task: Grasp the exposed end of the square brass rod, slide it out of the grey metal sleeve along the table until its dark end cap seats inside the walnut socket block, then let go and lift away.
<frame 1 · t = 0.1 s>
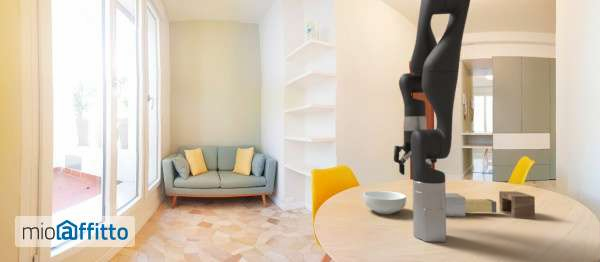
hand: (414, 174, 100), 17 cm above the table, fingers open, 8 cm apart
cereal bowl: (384, 212, 114), on the table
sleeve: (442, 213, 110), on the table
rod: (460, 205, 110), point 3 cm above the table, slide at 0.0 cm
socket: (516, 214, 108), on the table
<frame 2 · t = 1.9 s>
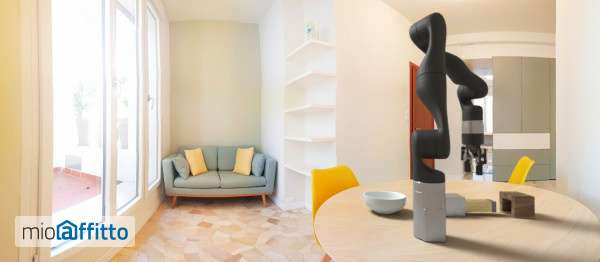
hand: (473, 173, 109), 16 cm above the table, fingers open, 8 cm apart
nothing on the table moved.
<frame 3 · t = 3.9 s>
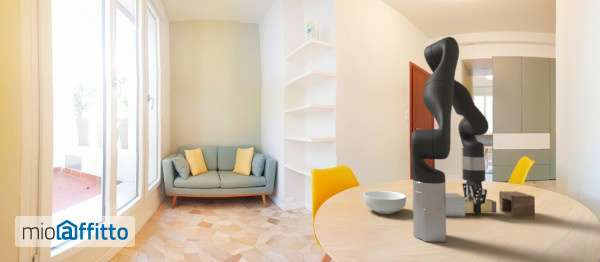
hand: (474, 211, 109), 1 cm above the table, fingers closed on rod, 4 cm apart
rod: (460, 205, 110), point 3 cm above the table, slide at 0.0 cm, touching gripper
everything else where it was.
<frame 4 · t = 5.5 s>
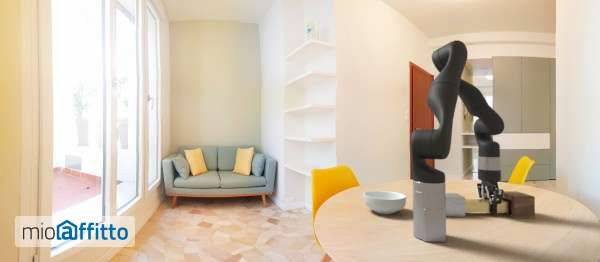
hand: (489, 212, 109), 1 cm above the table, fingers closed on rod, 4 cm apart
rod: (476, 205, 109), point 3 cm above the table, slide at 5.8 cm, touching gripper
everything else where it was.
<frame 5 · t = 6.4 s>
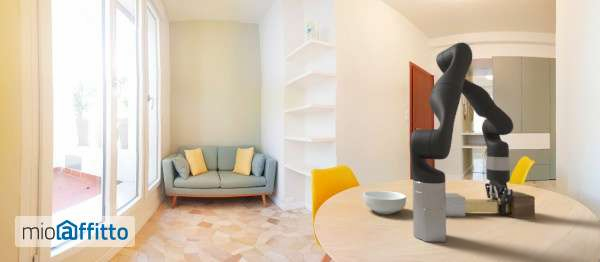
hand: (498, 212, 108), 1 cm above the table, fingers closed on rod, 4 cm apart
rod: (484, 205, 109), point 3 cm above the table, slide at 9.0 cm, touching gripper
everything else where it was.
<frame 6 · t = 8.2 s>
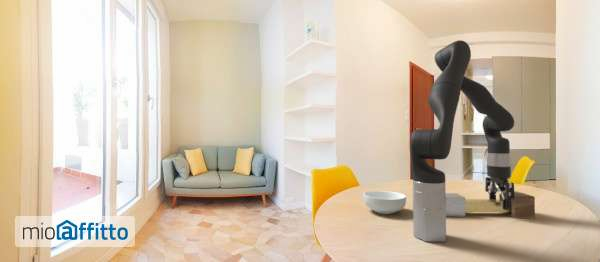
hand: (499, 206, 108), 3 cm above the table, fingers open, 8 cm apart
rod: (484, 205, 109), point 3 cm above the table, slide at 9.0 cm
everything else where it was.
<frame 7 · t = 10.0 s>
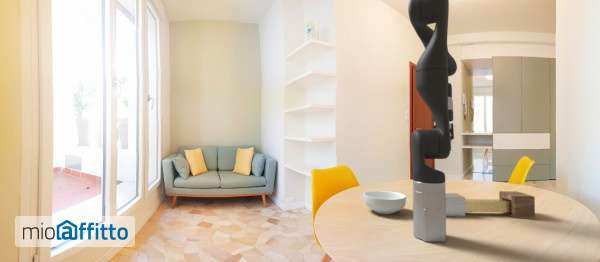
hand: (443, 150, 109), 25 cm above the table, fingers open, 8 cm apart
nothing on the table moved.
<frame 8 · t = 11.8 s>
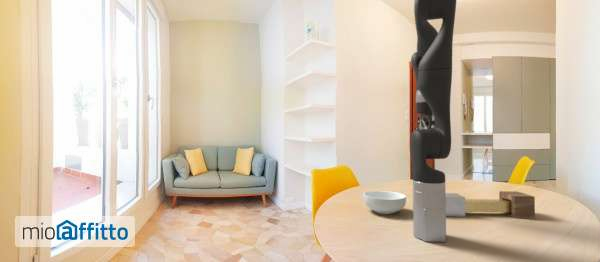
hand: (426, 142, 110), 28 cm above the table, fingers open, 8 cm apart
nothing on the table moved.
at the end: rod slide at 9.0 cm; the gripper is holding nothing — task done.
